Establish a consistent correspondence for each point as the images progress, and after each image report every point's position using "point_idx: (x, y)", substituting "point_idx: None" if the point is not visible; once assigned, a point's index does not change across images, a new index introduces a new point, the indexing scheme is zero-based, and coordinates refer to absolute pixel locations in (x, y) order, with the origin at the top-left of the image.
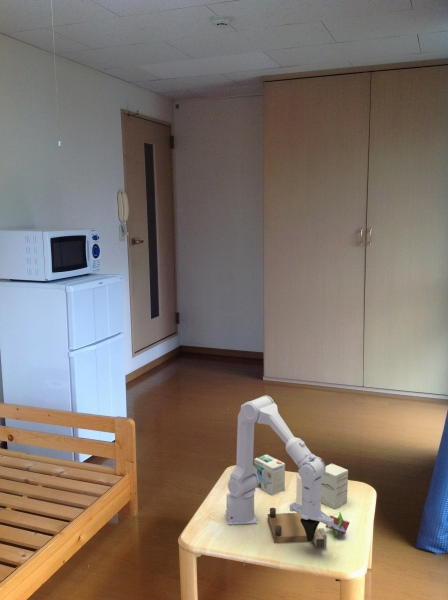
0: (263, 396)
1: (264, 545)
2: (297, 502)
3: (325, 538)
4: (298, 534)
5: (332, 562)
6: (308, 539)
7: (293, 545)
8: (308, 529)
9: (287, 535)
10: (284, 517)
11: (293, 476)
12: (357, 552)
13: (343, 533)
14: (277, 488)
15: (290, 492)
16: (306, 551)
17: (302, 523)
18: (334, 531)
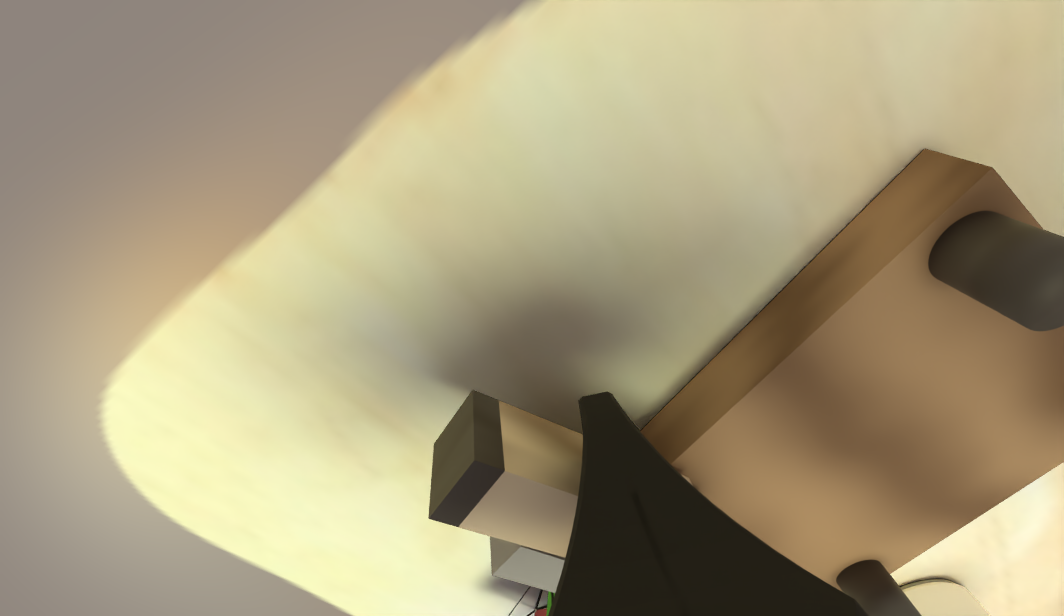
0: None
1: (1018, 15)
2: (963, 596)
3: None
4: (772, 400)
5: (297, 375)
6: (598, 408)
7: (734, 278)
8: (624, 537)
9: (862, 310)
10: (1001, 459)
11: None
12: (316, 568)
13: (543, 607)
14: None
15: (1031, 606)
16: (580, 308)
17: (788, 585)
18: None
